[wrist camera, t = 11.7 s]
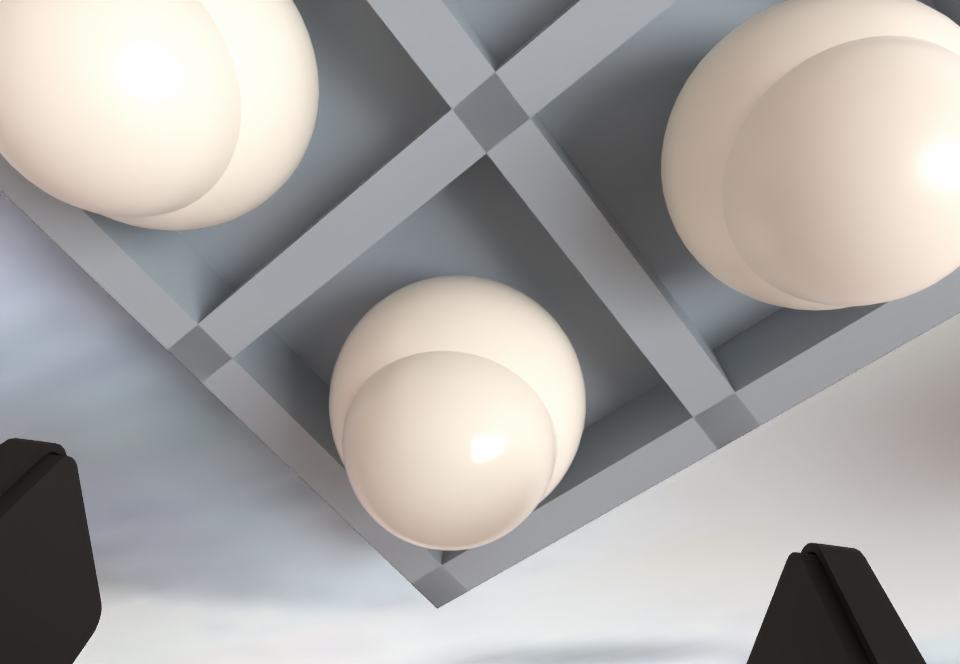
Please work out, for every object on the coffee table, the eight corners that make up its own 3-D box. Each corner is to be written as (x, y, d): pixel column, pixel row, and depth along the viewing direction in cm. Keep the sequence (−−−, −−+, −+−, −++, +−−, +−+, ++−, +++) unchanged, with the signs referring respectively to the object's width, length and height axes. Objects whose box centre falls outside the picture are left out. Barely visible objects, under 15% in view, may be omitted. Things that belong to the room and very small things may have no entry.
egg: (365, 228, 16) (277, 342, 10) (596, 257, 16) (628, 388, 10) (357, 425, 18) (280, 605, 13) (560, 451, 18) (571, 644, 13)
